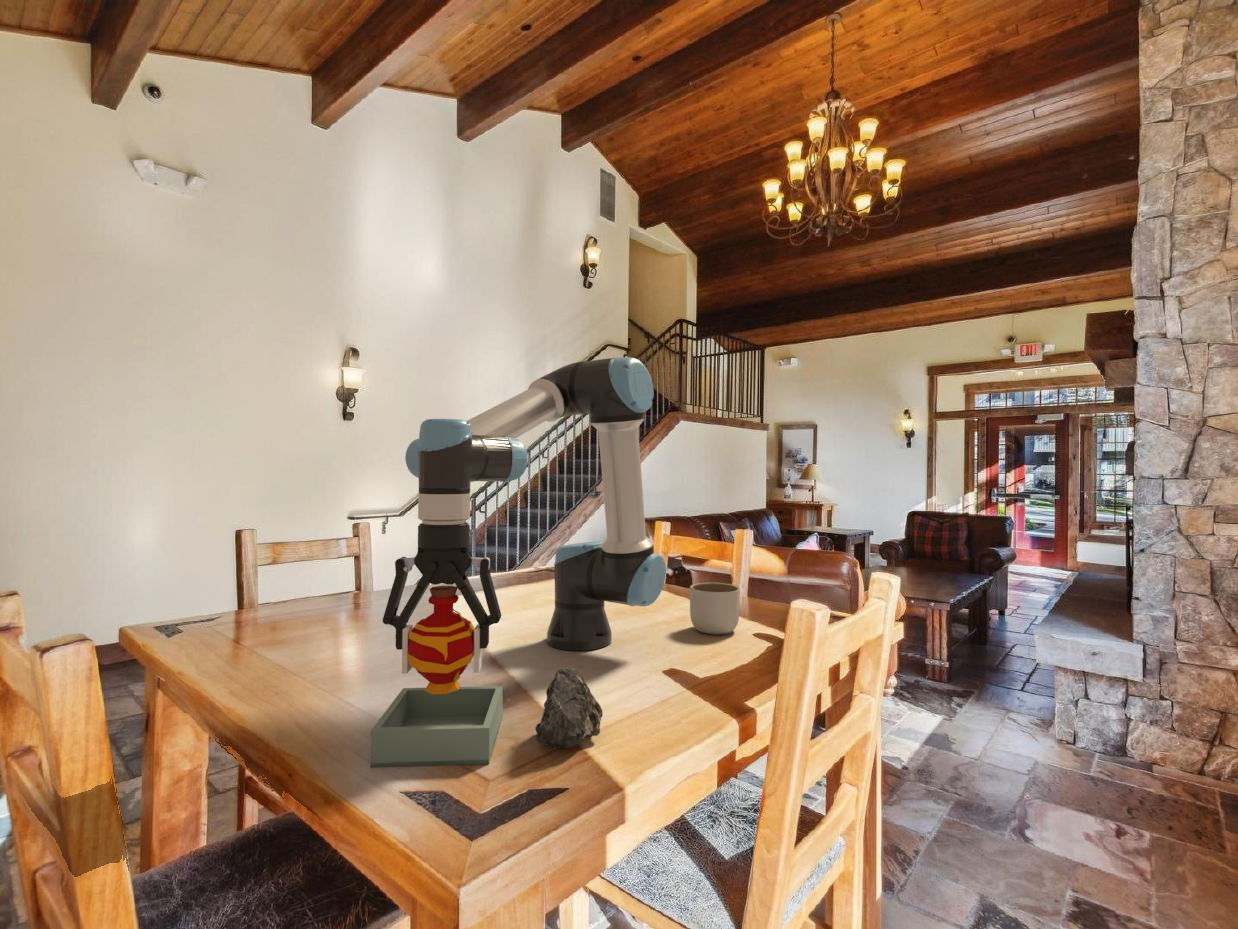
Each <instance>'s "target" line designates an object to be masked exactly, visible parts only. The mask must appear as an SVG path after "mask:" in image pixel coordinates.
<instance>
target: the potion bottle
mask: <svg viewBox="0 0 1238 929" xmlns="http://www.w3.org/2000/svg"><path fill="white" fill-rule="evenodd" d="M429 591H430V597H429V598H428V604H432V605H433V613H431V614H429V615H428V616H427V617H426V618H421V619H420V620H418V621H417V622H416V623H415V625H414V626H413V628H412V629H411V630H410V633H409V639H410V642H409V647H408V653H407V656H408V660H409V665H410V666H412V668H414V669H415V671H416V672H417V673H418V674H419V675H420V676H421V677H423V678H424V679H425V680H427V681H428V683H427V686H426V687H424V688H425V690H424V691H426V692H428V693H430V694H447V693H451V692H454V691H457V690H458V689H459V687H462V686H461V684H460V683H459V681H458V680H459V679H461V675H462V674H463V673H464V672H465V670H466V669H467V667H468V666H469V664H471V662H472V659H473V658H474V628H475V626H474V624H473V623H472V621H471V620H469V619H467V618H465V617H464V616H462V614H461V612H459V611H458V610H455V609H454V604H456V603H458V601H459V595H458V594H457V591H458V588H457V586H456V585H437V586H436V585H435V586H431V588H429Z"/></svg>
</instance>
